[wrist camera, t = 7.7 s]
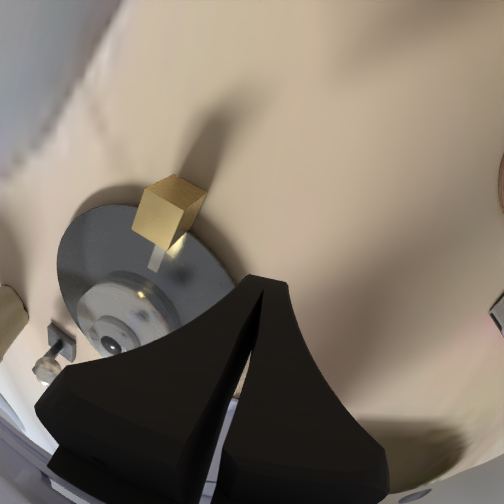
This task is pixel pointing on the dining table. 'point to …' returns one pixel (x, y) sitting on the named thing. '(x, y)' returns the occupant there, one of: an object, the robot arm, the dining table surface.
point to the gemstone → (501, 185)
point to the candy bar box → (498, 314)
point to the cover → (125, 313)
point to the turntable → (145, 249)
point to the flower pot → (10, 318)
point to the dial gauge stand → (54, 355)
